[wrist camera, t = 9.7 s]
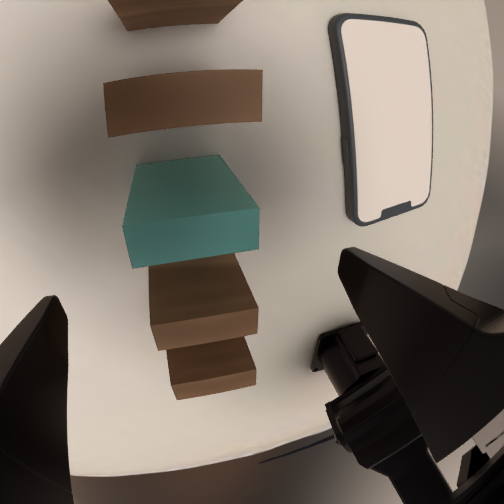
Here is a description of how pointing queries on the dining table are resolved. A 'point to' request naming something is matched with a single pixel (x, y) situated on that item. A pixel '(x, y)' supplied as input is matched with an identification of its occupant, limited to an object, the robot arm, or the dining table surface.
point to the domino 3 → (188, 212)
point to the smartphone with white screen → (383, 114)
